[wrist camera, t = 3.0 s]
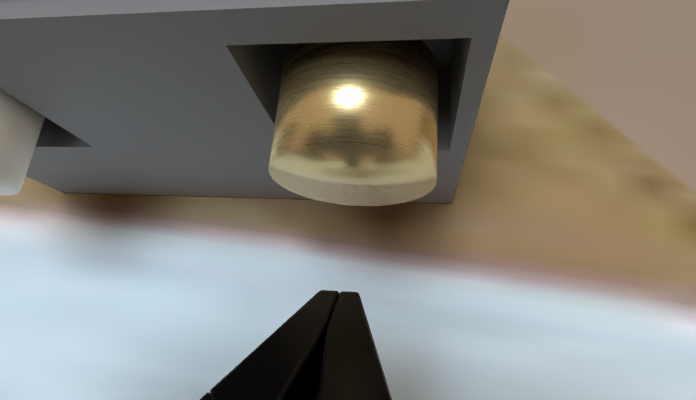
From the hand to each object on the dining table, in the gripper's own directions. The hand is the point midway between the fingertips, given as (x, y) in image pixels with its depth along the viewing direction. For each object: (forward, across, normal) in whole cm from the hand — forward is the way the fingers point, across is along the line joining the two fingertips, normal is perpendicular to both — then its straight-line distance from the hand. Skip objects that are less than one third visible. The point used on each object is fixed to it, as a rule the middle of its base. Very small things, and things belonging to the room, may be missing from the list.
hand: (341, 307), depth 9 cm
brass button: (+5, 0, -2) cm, 5 cm away
